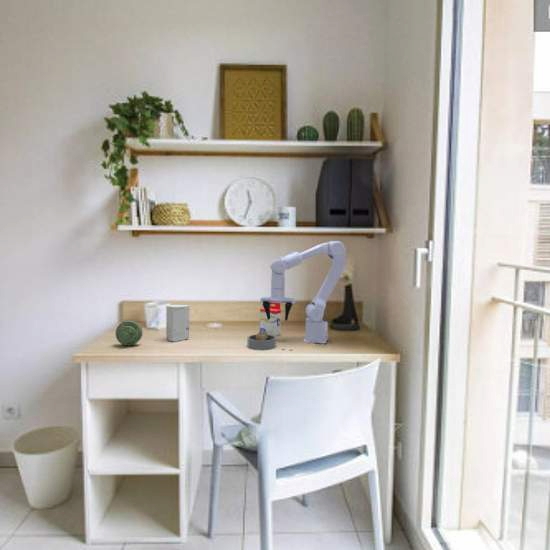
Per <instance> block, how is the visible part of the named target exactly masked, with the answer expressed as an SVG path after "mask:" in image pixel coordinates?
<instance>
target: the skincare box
mask: <svg viewBox="0 0 550 550" xmlns="http://www.w3.org/2000/svg"><path fill="white" fill-rule="evenodd" d="M165 309H166V311H165V312H166V316H165V317H166V319H165V321H166V324H165V326H166V328H165V329H166V333H165V335H166V337H165V338H166V340H167V341H169V342H172V341H173V342H172V343H174V341H175V342H180V341H179V340H181V341H185V339H187V340H189V339H190V305H186V304H171V305H166V308H165Z"/></svg>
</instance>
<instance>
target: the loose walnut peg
mask: <svg viewBox="0 0 550 550" xmlns="http://www.w3.org/2000/svg"><path fill="white" fill-rule="evenodd" d="M258 334H264V335H265V340H267V332H260V331H259V332H258Z"/></svg>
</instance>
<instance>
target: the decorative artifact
mask: <svg viewBox="0 0 550 550" xmlns="http://www.w3.org/2000/svg"><path fill="white" fill-rule="evenodd" d="M115 329H116V330H115V338H116V340H117V342H118V343H120V344H121V345H123V346H125V345H132V346H135V345H136V344H137V343H138V342H139V341H140V340H141V339H142V338H143V329H142V326H141V325H140V323H138V322H137V321H135V320H131V319H128V320H125V321H123V322H121V323H120V324H118V326H117V327H116V328H115Z"/></svg>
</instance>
